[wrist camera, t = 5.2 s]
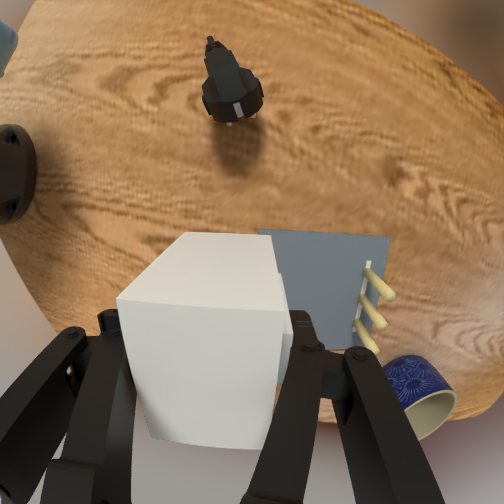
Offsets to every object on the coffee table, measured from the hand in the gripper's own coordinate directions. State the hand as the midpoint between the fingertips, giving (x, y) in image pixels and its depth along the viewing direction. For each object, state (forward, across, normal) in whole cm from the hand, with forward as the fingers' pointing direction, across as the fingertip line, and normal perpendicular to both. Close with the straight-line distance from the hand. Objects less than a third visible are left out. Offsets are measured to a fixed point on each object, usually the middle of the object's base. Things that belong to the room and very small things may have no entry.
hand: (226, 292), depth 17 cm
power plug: (+17, -4, +22) cm, 28 cm away
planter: (+16, +26, -22) cm, 38 cm away
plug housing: (0, 0, 0) cm, 0 cm away
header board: (+16, +10, -7) cm, 20 cm away
